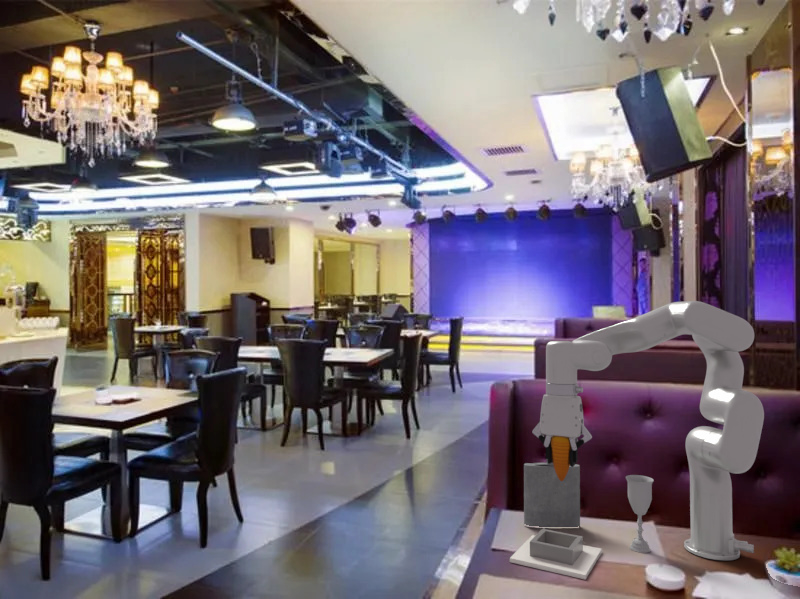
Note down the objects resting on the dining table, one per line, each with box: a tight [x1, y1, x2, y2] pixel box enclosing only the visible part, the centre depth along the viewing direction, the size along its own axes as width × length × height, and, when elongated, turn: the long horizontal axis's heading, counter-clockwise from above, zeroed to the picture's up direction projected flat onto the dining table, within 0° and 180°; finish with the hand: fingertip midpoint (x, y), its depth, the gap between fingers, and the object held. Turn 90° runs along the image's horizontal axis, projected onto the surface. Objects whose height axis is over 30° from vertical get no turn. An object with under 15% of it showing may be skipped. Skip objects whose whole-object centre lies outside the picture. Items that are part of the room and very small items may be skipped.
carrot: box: [551, 436, 571, 481], centre depth 142 cm, size 5×5×15 cm
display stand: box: [509, 529, 603, 580], centre depth 142 cm, size 18×18×4 cm
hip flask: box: [523, 458, 581, 527], centre depth 164 cm, size 16×4×20 cm, turn 88°
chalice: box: [625, 474, 655, 554], centre depth 148 cm, size 7×7×18 cm
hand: (561, 463), depth 142 cm, fingers closed on carrot, 4 cm apart
